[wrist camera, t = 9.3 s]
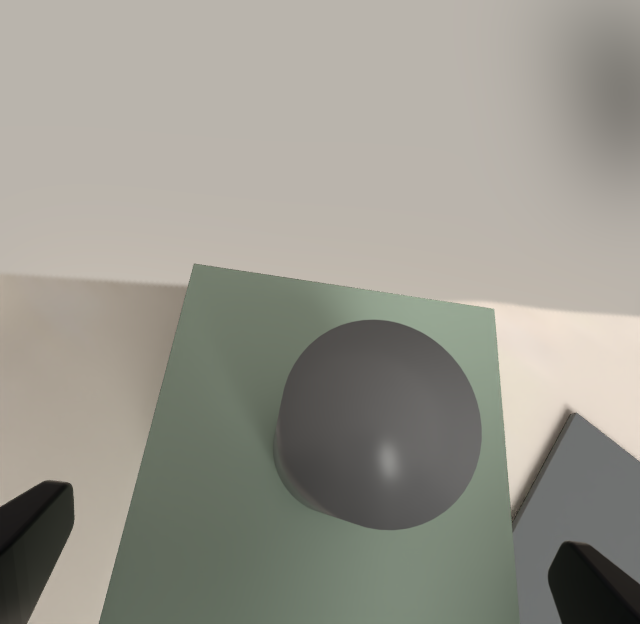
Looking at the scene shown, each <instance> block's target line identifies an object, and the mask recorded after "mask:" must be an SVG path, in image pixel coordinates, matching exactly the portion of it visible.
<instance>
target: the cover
mask: <svg viewBox="0 0 640 624" xmlns="http://www.w3.org/2000/svg"><path fill="white" fill-rule="evenodd" d="M99 624H520V617H519V605H518V593H517V580H516V568H515V556H514V544H513V532H512V520H511V507H510V495H509V483H508V471H507V459H506V447H505V434H504V422H503V410H502V398H501V386H500V374H499V361H498V349H497V337H496V325H495V313H494V309H491V308H485V307H478V306H471V305H465V304H458V303H452V302H445V301H438V300H432V299H425V298H418V297H412V296H405V295H399V294H392V293H385V292H379V291H372V290H365V289H358V288H352V287H345V286H339V285H332V284H325V283H319V282H312V281H306V280H299V279H292V278H286V277H279V276H273V275H265V274H259V273H252V272H246V271H239V270H232V269H226V268H219V267H213V266H206V265H199V264H194V266H193V269H192V273H191V277H190V281H189V284H188V288H187V292H186V296H185V299H184V303H183V307H182V311H181V315H180V318H179V322H178V326H177V330H176V334H175V337H174V341H173V345H172V349H171V352H170V356H169V360H168V364H167V368H166V371H165V375H164V379H163V383H162V386H161V390H160V394H159V398H158V402H157V405H156V409H155V413H154V417H153V420H152V424H151V428H150V432H149V436H148V439H147V443H146V447H145V451H144V455H143V458H142V462H141V466H140V470H139V473H138V477H137V481H136V485H135V489H134V492H133V496H132V500H131V504H130V507H129V511H128V515H127V519H126V523H125V526H124V530H123V534H122V538H121V542H120V545H119V549H118V553H117V557H116V560H115V564H114V568H113V572H112V576H111V579H110V583H109V587H108V591H107V594H106V598H105V602H104V606H103V610H102V613H101V617H100V621H99Z"/></svg>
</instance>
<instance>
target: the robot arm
mask: <svg viewBox="0 0 640 624" xmlns="http://www.w3.org/2000/svg"><path fill="white" fill-rule="evenodd" d="M73 524H74V497H73V487H72V485H71V484H70V483H68V482H61V481H53V480H47V481H44V482H41V483H40V484H38V485H36V486H34V487H33V488H31V489H29V490H28V491H26V492H24V493H23V494H21V495H19V496H18V497H16V498H14V499H13V500H11V501H9V502H7V503H6V504H4V505H2V506H1V507H0V624H27V622H28V620H29V618H30V616H31V614H32V612H33V610H34V608H35V606H36V604H37V602H38V600H39V598H40V596H41V594H42V592H43V589H44V587H45V585H46V583H47V581H48V579H49V577H50V575H51V573H52V571H53V569H54V567H55V564H56V562H57V560H58V558H59V556H60V554H61V552H62V550H63V548H64V546H65V544H66V542H67V539H68V537H69V535H70V533H71V531H72V528H73ZM548 584H549V588H550V591H551V594H552V597H553V600H554V603H555V606H556V609H557V612H558V615H559V618H560V621H561V624H640V584H639V583H638V582H637V581H636V580H634V579H633V578H632V577H630V576H629V575H628V574H627V573H625V572H624V571H623V570H622V569H620V568H619V567H618V566H617V565H615V564H614V563H613V562H611V561H610V560H609V559H608V558H606V557H605V556H604V555H603V554H601V553H600V552H599V551H598V550H596V549H595V548H594V547H592V546H591V545H590V544H588V543H585V542H578V541H569V540H567V541H564V542H563V543H561V545H560V547H559V549H558V551H557V553H556V555H555V557H554V559H553V561H552V563H551V565H550V567H549V569H548Z"/></svg>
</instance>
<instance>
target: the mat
mask: <svg viewBox="0 0 640 624" xmlns="http://www.w3.org/2000/svg"><path fill="white" fill-rule="evenodd" d="M512 532H513V544H514V556H515V568H516V580H517V593H518V605H519V617H520V624H561V621H560V618H559V615H558V612H557V609H556V606H555V603H554V600H553V597H552V594H551V591H550V588H549V584H548V569H549V567H550V565H551V563H552V561H553V559H554V557H555V555H556V553H557V551H558V549H559V547H560V545H561V543H563V542H564V541H567V540H569V541H578V542H585V543H588V544H590V545H591V546H592V547H594V548H595V549H596V550H598V551H599V552H600V553H601V554H603V555H604V556H605V557H606V558H608V559H609V560H610V561H611V562H613V563H614V564H615V565H617V566H618V567H619V568H620V569H622V570H623V571H624V572H625V573H627V574H628V575H629V576H630V577H632V578H633V579H634V580H636V581H637V582H638V583H639V584H640V462H639V461H638V460H637V459H635V458H634V457H633V456H632V455H630V454H629V453H628V452H626V451H625V450H624V449H623V448H621V447H620V446H619V445H617V444H616V443H615V442H614V441H612V440H611V439H610V438H608V437H607V436H606V435H605V434H603V433H602V432H601V431H599V430H598V429H597V428H596V427H594V426H593V425H592V424H590V423H589V422H588V421H587V420H585V419H584V418H583V417H581V416H580V415H579V414H578V413H574V414H570V416H569V418H568V420H567V422H566V424H565V426H564V427H563V429H562V431H561V433H560V435H559V437H558V439H557V441H556V442H555V444H554V446H553V448H552V450H551V452H550V454H549V455H548V457H547V459H546V461H545V463H544V465H543V467H542V468H541V470H540V472H539V474H538V476H537V478H536V480H535V482H534V483H533V485H532V487H531V489H530V491H529V493H528V495H527V496H526V498H525V500H524V502H523V504H522V506H521V508H520V509H519V511H518V513H517V515H516V517H515V519H514V521H513V523H512Z"/></svg>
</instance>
